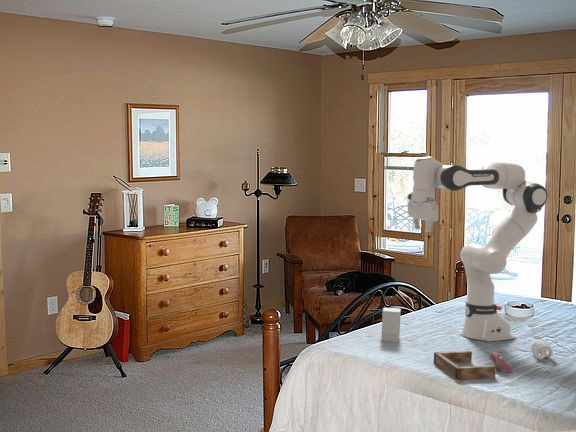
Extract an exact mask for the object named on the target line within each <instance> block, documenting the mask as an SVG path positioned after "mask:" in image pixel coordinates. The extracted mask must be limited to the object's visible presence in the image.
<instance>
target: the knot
mask: <svg viewBox="0 0 576 432" xmlns="http://www.w3.org/2000/svg"><path fill="white" fill-rule="evenodd" d="M530 348H531V352H532V356H533V357H535V359H537V360H538V361H539V360H540V361H542V360H544V359H550V358H551V357H552V356H553V355H554V354H553V352H554V351H553V349H552V347H551V346H549V345H548V344H547V342H545V341H542V342H539V343H538V342H532V343H531V347H530ZM547 352H548V353H547ZM539 354H540V355H539Z"/></svg>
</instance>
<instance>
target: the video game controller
mask: <svg viewBox="0 0 576 432" xmlns="http://www.w3.org/2000/svg"><path fill="white" fill-rule="evenodd" d="M488 356H489V357H488V358H489V360H490V361H492V362H493V365H494V366H496V368H497V369H499V371H501V370H503V371H505V372H506V373H507V372H508V373H512V372H513V368H512V366H511V364H509V363H508V362H507V361H506V360H505V359H504V357H503V356H502V354H501V353H500V352H496V351H494V352H493V351H492V352H490V353H489V355H488Z"/></svg>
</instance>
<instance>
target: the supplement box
mask: <svg viewBox="0 0 576 432" xmlns="http://www.w3.org/2000/svg"><path fill="white" fill-rule="evenodd" d="M401 310H402V309H401V308H398V307H397V308H396V307H383V308H382V315H381V318H382V319H381V336H380V337H381V339H380V341H382V342H389V343H390V342H391V343H399V342H400V334H401V333H400V332H401V313H402V312H401Z"/></svg>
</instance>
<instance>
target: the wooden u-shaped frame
mask: <svg viewBox="0 0 576 432" xmlns="http://www.w3.org/2000/svg"><path fill="white" fill-rule="evenodd" d="M472 354H473V352H472V351H471V350H459V351H458V350H457V351H455V350H454V351H439V352H438V351H437V352H436V351H435V352H433V364H434V365H436V366H437V367H439V368H440V369H442V370H443V371H444V372H445V373H447V374H448V375H450V376H451V377H453V378H454V379H456V380H457V381H459V380H460V381H461V380H463V381H464V380H475V379H476V380H477V379H494V378H496V370H497V369H496V368H497V367H496V366H495V364H493V365H492V364H490V365H471V366H469V365H468V366H459V365H458V364H463V363H464V364H465V363H466V364H467V363H472V358H473V357H472V356H473V355H472Z"/></svg>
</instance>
